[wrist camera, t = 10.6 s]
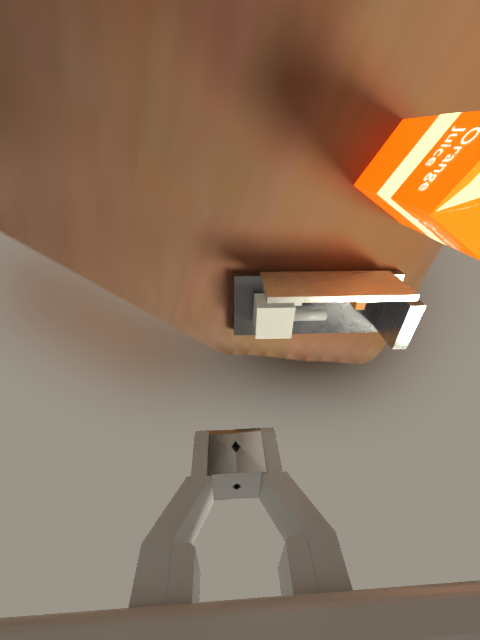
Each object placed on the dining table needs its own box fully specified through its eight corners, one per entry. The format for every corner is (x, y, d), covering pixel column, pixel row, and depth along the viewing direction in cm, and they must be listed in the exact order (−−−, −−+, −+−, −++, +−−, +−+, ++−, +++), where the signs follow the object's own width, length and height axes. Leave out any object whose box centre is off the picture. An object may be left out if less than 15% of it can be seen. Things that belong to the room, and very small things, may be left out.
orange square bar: (340, 291, 38) (354, 310, 34) (342, 283, 38) (357, 301, 33) (348, 291, 38) (364, 309, 34) (350, 283, 38) (366, 301, 34)
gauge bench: (233, 329, 43) (236, 366, 36) (233, 267, 37) (236, 297, 30) (378, 326, 44) (407, 361, 37) (400, 266, 39) (440, 294, 32)
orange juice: (403, 117, 29) (647, 88, 12) (452, 166, 32) (702, 196, 15) (351, 186, 32) (487, 236, 16) (399, 224, 35) (556, 300, 19)
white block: (252, 322, 40) (255, 339, 37) (254, 283, 37) (257, 297, 33) (317, 321, 41) (326, 337, 38) (326, 282, 37) (336, 296, 34)
